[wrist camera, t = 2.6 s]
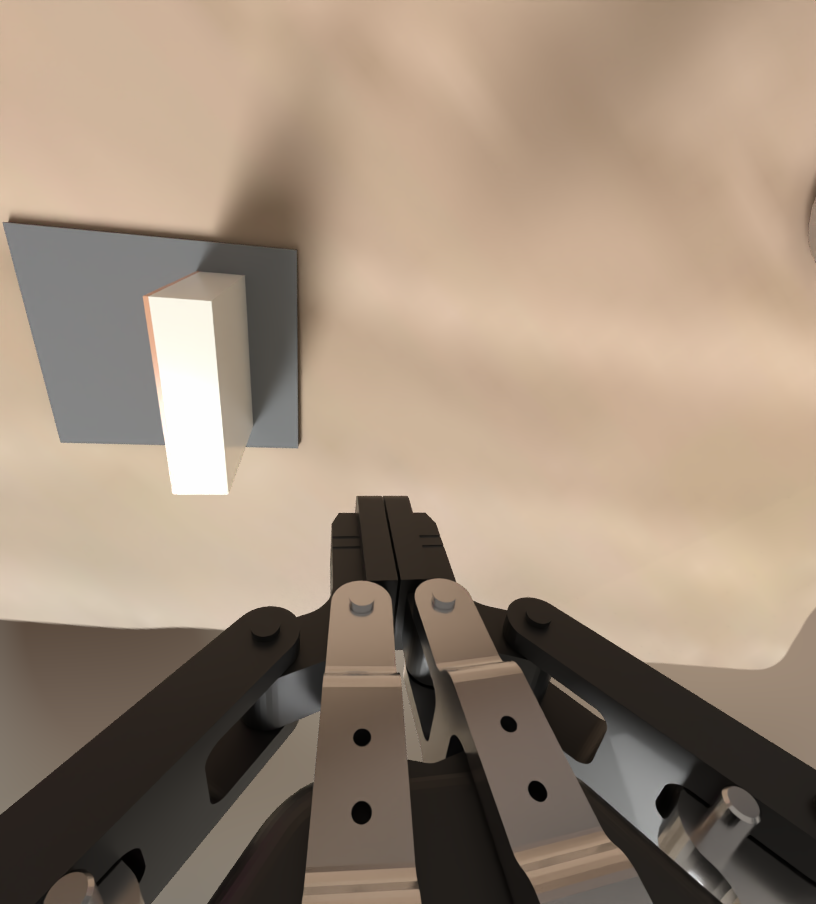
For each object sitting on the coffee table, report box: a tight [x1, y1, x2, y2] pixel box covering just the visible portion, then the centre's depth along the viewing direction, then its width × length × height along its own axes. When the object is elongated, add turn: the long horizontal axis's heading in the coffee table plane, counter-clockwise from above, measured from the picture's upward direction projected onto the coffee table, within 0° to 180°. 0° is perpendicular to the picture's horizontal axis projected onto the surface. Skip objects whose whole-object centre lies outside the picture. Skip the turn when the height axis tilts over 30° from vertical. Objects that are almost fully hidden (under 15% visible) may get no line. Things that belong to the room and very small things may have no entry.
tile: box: [143, 271, 253, 494], centre depth 24 cm, size 2×9×8 cm, turn 174°
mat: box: [3, 222, 298, 448], centre depth 27 cm, size 14×12×1 cm
